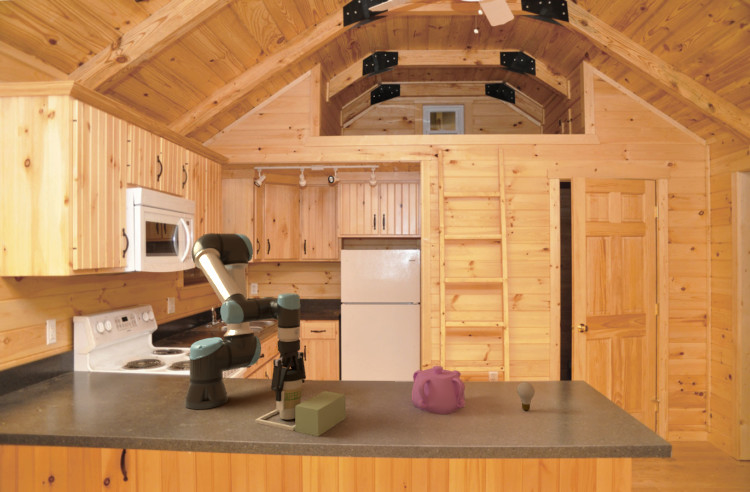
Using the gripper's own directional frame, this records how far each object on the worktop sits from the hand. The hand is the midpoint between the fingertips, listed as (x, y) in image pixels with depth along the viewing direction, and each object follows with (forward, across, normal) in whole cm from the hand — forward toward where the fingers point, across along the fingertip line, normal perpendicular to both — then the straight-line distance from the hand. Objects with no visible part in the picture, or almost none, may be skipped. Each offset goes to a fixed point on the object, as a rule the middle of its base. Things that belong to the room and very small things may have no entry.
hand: (289, 405), depth 151 cm
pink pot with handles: (+4, +35, -42) cm, 55 cm away
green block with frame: (+4, 0, -5) cm, 6 cm away
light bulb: (+4, +42, -71) cm, 83 cm away
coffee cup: (+4, 0, 0) cm, 4 cm away
